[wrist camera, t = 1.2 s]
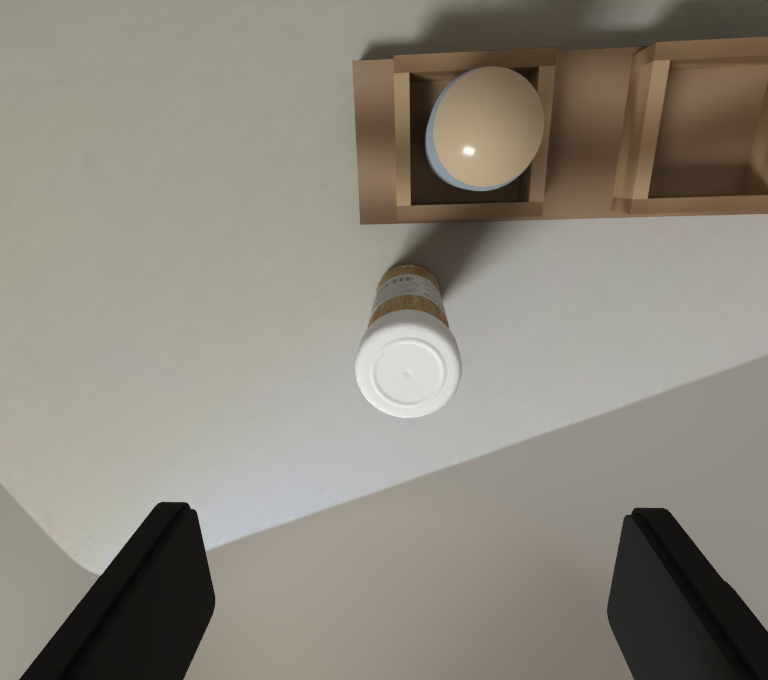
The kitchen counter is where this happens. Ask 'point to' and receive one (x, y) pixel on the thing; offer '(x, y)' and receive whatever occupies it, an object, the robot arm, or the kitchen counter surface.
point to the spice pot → (484, 129)
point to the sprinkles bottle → (408, 346)
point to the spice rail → (580, 133)
